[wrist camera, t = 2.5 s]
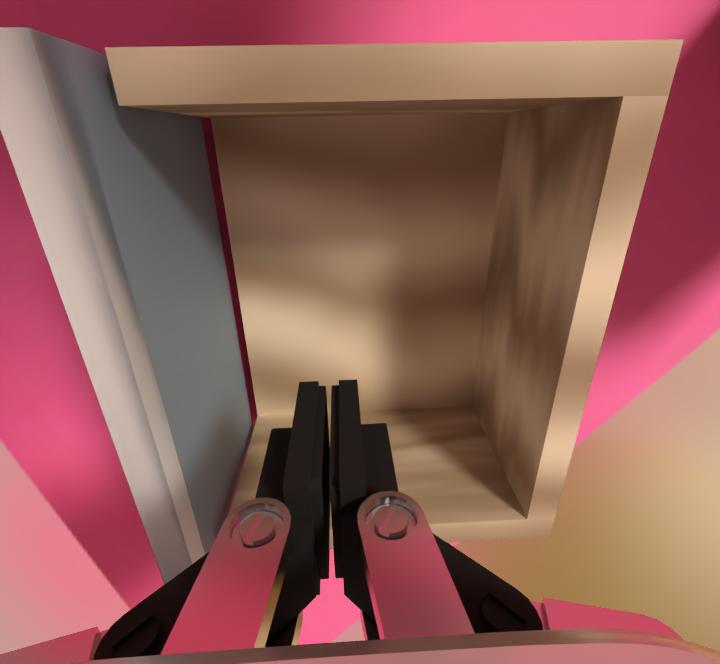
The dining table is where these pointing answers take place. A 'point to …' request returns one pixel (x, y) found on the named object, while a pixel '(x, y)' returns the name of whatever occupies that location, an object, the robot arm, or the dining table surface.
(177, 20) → the dining table surface
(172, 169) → the panel
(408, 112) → the crate
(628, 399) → the dining table surface
